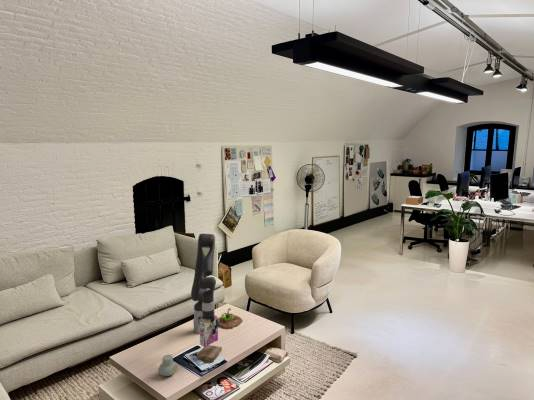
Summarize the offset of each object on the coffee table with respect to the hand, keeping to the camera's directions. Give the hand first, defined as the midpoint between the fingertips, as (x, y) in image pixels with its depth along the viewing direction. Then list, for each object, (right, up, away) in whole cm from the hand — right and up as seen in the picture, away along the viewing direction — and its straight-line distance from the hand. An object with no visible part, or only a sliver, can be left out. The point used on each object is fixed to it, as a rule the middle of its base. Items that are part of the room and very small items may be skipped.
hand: (209, 333), depth 238 cm
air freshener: (-22, -18, -16) cm, 32 cm away
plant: (+8, -9, +46) cm, 48 cm away
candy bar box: (0, -7, +1) cm, 6 cm away
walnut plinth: (0, -15, +2) cm, 15 cm away
